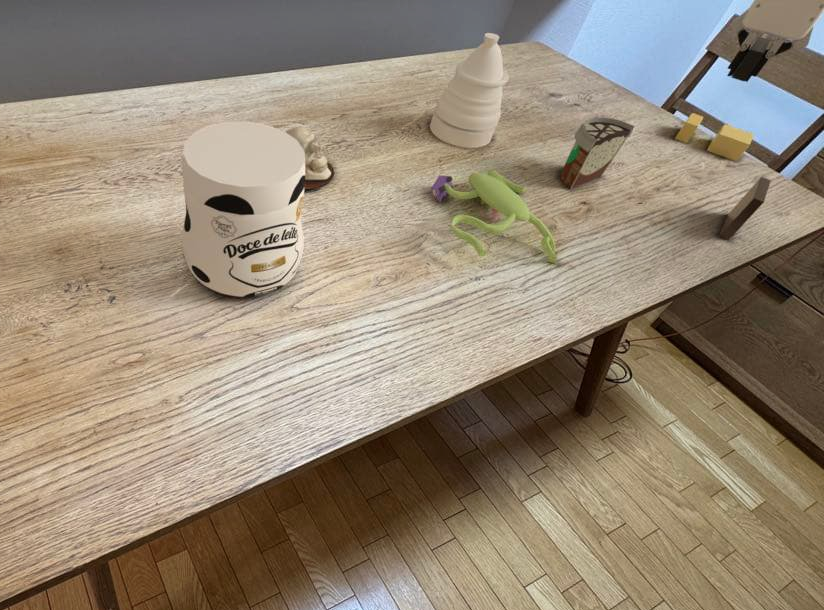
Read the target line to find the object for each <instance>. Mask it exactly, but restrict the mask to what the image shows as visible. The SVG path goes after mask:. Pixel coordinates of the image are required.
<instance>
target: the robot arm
mask: <svg viewBox="0 0 824 610" xmlns="http://www.w3.org/2000/svg"><path fill="white" fill-rule="evenodd" d="M823 14H824V0H753V2H752V3H751V4H750V7H748V8H747V9H746V10H745V11H743V12H742V13H741V14H740V15H739V16H738V17H737V18H735V19H734V20H733V21H732V22H731V23H730V25H729V28H730V29H731V30H732V31H733V33H735V35H736V36H737V39H738V44H739V45H738V46H739V50H738V52H737V53H736V55H735V56H734V57H733V59H732V60H731V62H730V63H729V65H728V66H727V69H728V70H729V72H728V74H726V76H727V77H729V78H731V77H732V75H733V73H734V72H735V70H736V69H737V67H738V66H739V65H740V63H741V62H742V60H743V59H744V57H745V56H746V55H747V53H748V51H749V48H750V47H751V46H752V44H753V43H754V41H755V40H756V38H757V37H758V35H759V34H760V33H763V34H764V33H766V34H768V35H770V36H773V37H776V38H775V39H774V41H773V42H772V43H771V45H770V46H769V48H767V49H766V51H765V53H764V55H763V56H762V57H761V59H760V60H759V61H758V63H757V64H756V66H755V67H754V68H753V70H752V71H751V72H750V74H749V75H748V77H747V78H746V79H745V81H744V82H745V83H748V82H749V80H750V79H751V78H752V77H757V76H758V75H759V73H760V72H761V71H762V69H763V68H764V66H765V65H766V64H767V63H768V61H769V60H770V59H771V58H773V57H775V56H778V55H780V54H782V53H784V52H787V51H789V50H800V49H804V48H806V47H808V45H809V43H810V40H811V36H812V32H813V30H814V26H815V25H816V23H817V22H818V21H819V19H820V18H821V17H822V15H823ZM749 30H750V31H749Z"/></svg>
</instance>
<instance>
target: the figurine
mask: <svg viewBox="0 0 824 610" xmlns="http://www.w3.org/2000/svg"><path fill="white" fill-rule="evenodd" d="M468 181H469V184H470V187H471V188H472V189H471V191H458V190H455V189H454V187H453V183H452V182H453V177H452V176H451V175H438V176H437V178H436V179H435V181H434V183H433V185H432V186H431V192H432V195H433V196H434V197H435V200H436V201H437V202H439V203H443V202H445V201H446V200H447V198H446V196H447V195H450V196H451V197H452V198H455V199H458V200H469V199H470V200H471V199H476V198H478V197H479V198H480V204H481V205H484V204H486V205H488V206H489V207H490V208H491V210H492V218H493V219H494V220H495V221H496V220H497V221H498V220H499V214H501V215H503V216H505V217H506V218H505V219H504V220H503V221H502V222H501V223H498V224H491V223H490V224H489V223H486V222H484V221H482V219H479V218H477V217H474V216H472V215H468V214H458V215H455V216H453V218H452V220H451V233H452V234H453V235H454V236H455V237H457V238H458V239H460V240H462V241H465V242H466V243H468V244H469V245H471V246H472V247H473V248H474V250H475V251H476V253H477V255H478V257H479V258H483V257H485V256H486V255H487V253H488V252H487V250H486V249H485V247H484V245H483V244H482V242H481V241H480V240H479V239H478V238H477V237H475V236H474V235H472V234H471V233H469V232H466V231H463V230H461V229H459V228H457V227H456V224H459V223H463V224H468V225H471V226H473V227H476V228H478V229H479V230H482V231H484V232H487V233H491V234H492V233H493V234H494V233H495V234H496V233H497V234H498V233H501V232H503V231H505V230H506V229H508V228H509V226H511V224H513V223H514V222H515V221H518V222H529V223H531V224H532V225H533V226H534V227H535V229H536V230H537V231H538V232H539V234H541V236H542V239H541V241H540V246H541V248H542V249H543V251H544V252H545V254H546V255H547V257H548V263H552V264H555V265H556V264H557V263H558V261H557V259H558V258H557V255H556V254H555V252H556V243H555V240H554V237H553V236H552V233H551V232H550V230H549V228H548V227H547V226H546V225H545V223H543V222H542V221H541V220H540V219H539V218H538V217H537V216H535V215H534V214H533V213H531V211H530V209H529V207H528V205H527V204H526V202H525V201H524V200H523V199H522V198H521V196H519V194H522V193H524V192H525V191H526V190H527V186H521V185H518V184H516V183H514V182H512V181H511V180H509V179H508V178H506V177H505V176H503V175H501V174H500V173H498V172H497V171H496V170H494V169H490V170H488V171H487V174H486V173H482V172H477V171H475V172H471V173H470V175H469V177H468ZM517 193H518V194H517Z"/></svg>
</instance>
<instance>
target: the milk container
mask: <svg viewBox="0 0 824 610" xmlns="http://www.w3.org/2000/svg"><path fill="white" fill-rule="evenodd" d="M181 157H182V158H181V176H182V180H183V182H182V183H183V186H182V187H183V194H184V202H185V217H184V222H183V227H182V233H181V244H182V251H183V255H184V259H185V263H186V265H187V268H188V270H189V271H190V273H191V274H192V275H193V277H194V278H195V279H196V280H197V281H198V282H199V283H200V284H201V285H202V286H203V287H205V288H207V289H209V290H211V291H212V292H215V293H218V294H220V295H223V296H227V297H232V298H240V299H241V298H244V299H246V298H257V297H258V298H259V297H263V296H266V295H269V294H272V293H275V292H277V291H279V290H281V289H282V288H283V287H285V286H286V285H288V283H290V282H291V280H292V279H293V278H294V277H295V276H296V274H297V271H298V269H299V268H300V264H301V262H302V258H303V255H304V254H303V253H304V247H305V237H304V230H303V229H304V228H303V225H302V208H303V203H304V196H305V189H304V185H305V152H304V149H303V148H302V147H301V145H300V144H299V142H298V141H297V140H296V139H295V138H293V137H292V136H290V135H289V134H287V133H286V131H285V130H282V129H280V128H277V127H274V126H271V125H269V124H265V123H259V122H252V121H225V122H224V121H223V122H218V123H214V124H209V125H206V126H205V127H203V128H200V129H198V130H196V131H194V132H193V133H192V134H191V135H190V136H189V137H188V138H187V139H186V140H185V142H184V145H183V149H182V156H181Z"/></svg>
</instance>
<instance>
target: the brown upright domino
mask: <svg viewBox="0 0 824 610" xmlns="http://www.w3.org/2000/svg"><path fill="white" fill-rule="evenodd" d="M771 182H772V180H771V179H769V178H766V177H764V176H760V178H759V179H758V180H757V181H756V182H755V183H754V184H753V186H752V187H751V188H750V189H749V190H748V191H747V192H746V193H745V195H743V197H741V199H740V200H739V201H738V203H736V205H735V206H734V207H733V208H732V209H731V210H730V212H729V213H727V215H726V218H725V220H724V223H723V225H722V227H721V231H720V233H719V236H718V237H719V238H721V239H725V240H726V241H729V240H731V238H732V237H733V236H734V235H735V234H736V233H737V232H738V231H739V230H740V229H741V228H742V227H743V225H745V223H747V221H748V220H749V219H750V218H751V217H752V216H753V214H755V212H756V211H757V210H758V209H759V208H760V207H761V206H762V205H763V204H764V203H765V201H766V198H767V193H768V191H769V188H770V186H771V185H770V184H771Z"/></svg>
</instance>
